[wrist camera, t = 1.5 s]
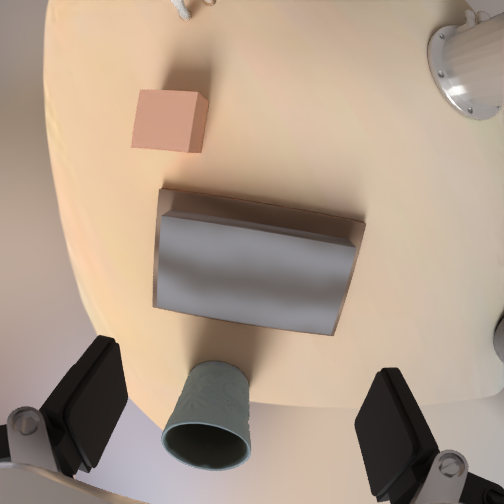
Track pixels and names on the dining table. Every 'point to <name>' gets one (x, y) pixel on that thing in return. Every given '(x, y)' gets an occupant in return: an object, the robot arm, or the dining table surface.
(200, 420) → the grey green cup
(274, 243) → the board
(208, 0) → the unicorn figurine
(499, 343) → the smart speaker
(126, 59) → the dining table surface
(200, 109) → the terracotta cube
